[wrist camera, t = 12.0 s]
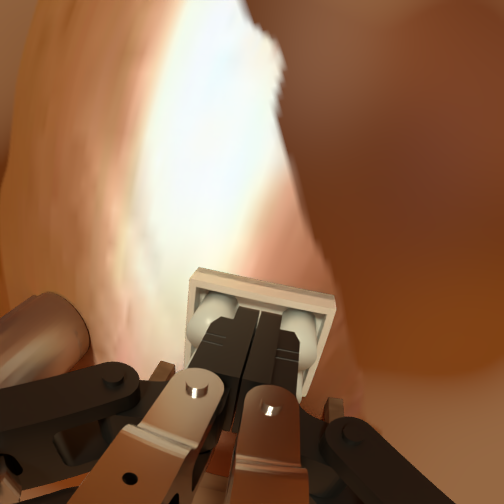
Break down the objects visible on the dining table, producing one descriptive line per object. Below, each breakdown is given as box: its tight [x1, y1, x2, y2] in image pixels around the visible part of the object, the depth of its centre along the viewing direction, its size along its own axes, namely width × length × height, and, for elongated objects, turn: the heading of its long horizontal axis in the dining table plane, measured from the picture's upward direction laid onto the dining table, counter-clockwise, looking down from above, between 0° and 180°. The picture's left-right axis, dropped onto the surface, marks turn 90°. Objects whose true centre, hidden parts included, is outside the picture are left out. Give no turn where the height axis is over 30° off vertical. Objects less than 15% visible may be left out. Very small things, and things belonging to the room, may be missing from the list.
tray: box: [184, 267, 336, 403], centre depth 26 cm, size 12×10×7 cm
